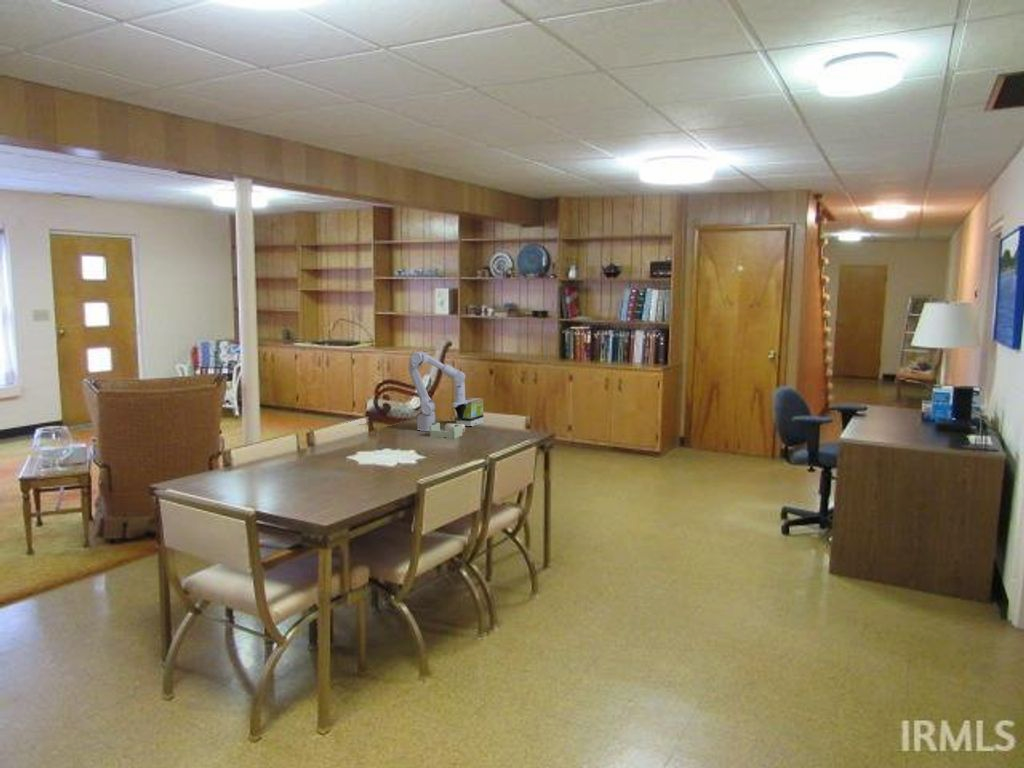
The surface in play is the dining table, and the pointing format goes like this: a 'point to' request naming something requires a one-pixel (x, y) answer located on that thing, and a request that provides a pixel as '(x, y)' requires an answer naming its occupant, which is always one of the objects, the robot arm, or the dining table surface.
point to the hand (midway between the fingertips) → (460, 418)
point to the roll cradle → (448, 434)
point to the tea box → (472, 412)
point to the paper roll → (449, 426)
